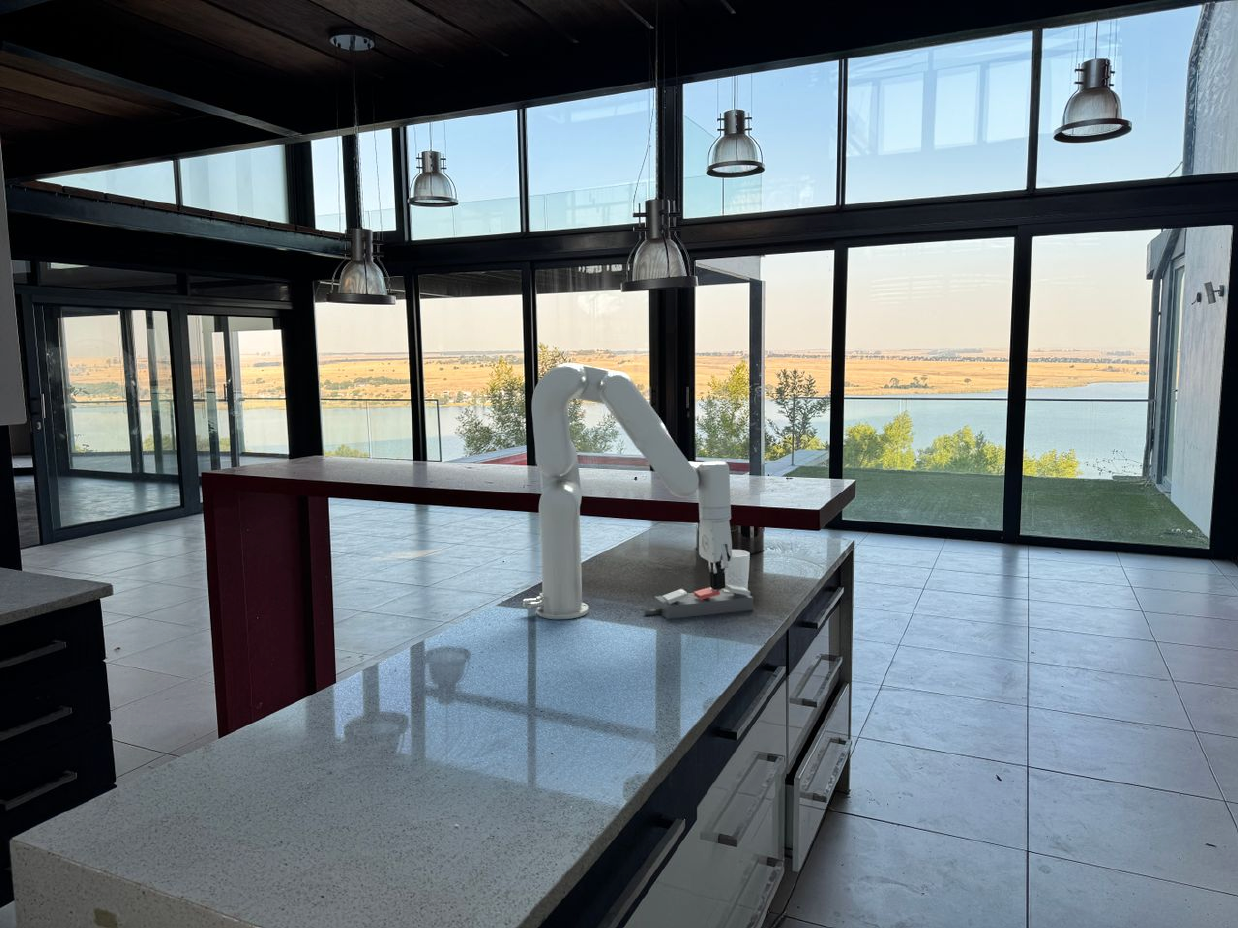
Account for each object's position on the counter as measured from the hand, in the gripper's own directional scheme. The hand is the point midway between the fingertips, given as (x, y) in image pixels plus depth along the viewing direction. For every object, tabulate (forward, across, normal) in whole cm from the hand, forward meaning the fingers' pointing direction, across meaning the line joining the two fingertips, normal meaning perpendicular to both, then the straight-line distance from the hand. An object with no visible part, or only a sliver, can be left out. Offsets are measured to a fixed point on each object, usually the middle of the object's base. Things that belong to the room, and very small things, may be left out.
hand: (717, 587), depth 206 cm
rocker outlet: (+1, 0, +5) cm, 5 cm away
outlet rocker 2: (+1, 0, -3) cm, 3 cm away
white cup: (+6, -15, +11) cm, 20 cm away
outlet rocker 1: (+1, 0, -11) cm, 11 cm away
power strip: (+5, -2, -5) cm, 8 cm away
